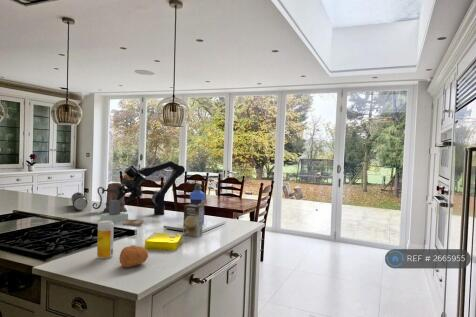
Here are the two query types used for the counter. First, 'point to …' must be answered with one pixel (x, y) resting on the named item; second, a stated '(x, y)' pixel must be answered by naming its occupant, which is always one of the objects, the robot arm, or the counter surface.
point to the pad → (133, 222)
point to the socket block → (114, 217)
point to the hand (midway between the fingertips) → (121, 200)
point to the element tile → (163, 241)
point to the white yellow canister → (105, 239)
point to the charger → (114, 207)
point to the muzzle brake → (79, 201)
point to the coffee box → (193, 220)
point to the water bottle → (197, 197)
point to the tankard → (111, 197)
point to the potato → (133, 256)
